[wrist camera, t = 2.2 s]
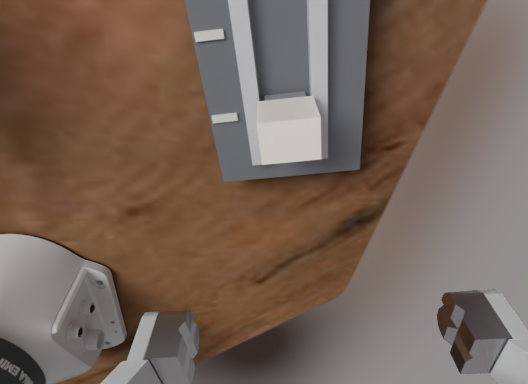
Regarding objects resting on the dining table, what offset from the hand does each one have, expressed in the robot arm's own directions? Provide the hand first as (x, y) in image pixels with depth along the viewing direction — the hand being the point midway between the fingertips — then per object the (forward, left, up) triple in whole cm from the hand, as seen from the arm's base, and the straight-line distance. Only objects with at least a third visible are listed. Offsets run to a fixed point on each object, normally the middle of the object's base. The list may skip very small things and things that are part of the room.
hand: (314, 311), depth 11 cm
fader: (0, 0, -18) cm, 18 cm away
